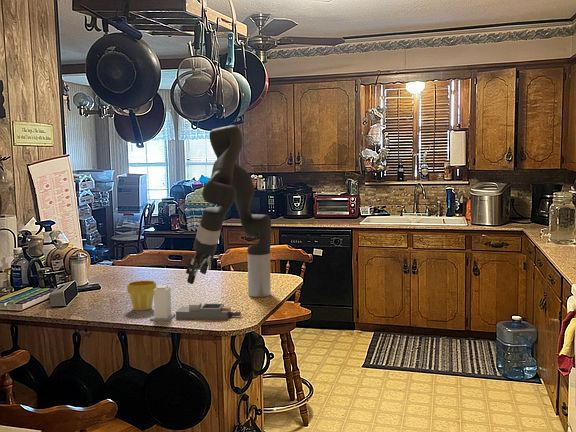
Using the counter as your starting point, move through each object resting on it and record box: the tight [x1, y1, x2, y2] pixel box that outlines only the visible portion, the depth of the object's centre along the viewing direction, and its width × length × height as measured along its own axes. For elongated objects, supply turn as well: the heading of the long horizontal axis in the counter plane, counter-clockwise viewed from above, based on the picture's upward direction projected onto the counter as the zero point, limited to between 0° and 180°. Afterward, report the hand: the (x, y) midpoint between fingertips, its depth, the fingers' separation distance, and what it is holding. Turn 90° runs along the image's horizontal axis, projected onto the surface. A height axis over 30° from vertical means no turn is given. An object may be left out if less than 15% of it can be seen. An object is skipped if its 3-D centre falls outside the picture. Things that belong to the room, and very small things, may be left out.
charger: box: [153, 285, 172, 318], centre depth 199 cm, size 4×4×11 cm
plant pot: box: [126, 280, 157, 311], centre depth 213 cm, size 10×10×10 cm
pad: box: [149, 313, 176, 322], centre depth 199 cm, size 7×7×1 cm
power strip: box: [175, 301, 242, 320], centre depth 200 cm, size 7×22×4 cm, turn 85°
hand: (196, 277), depth 194 cm, fingers open, 8 cm apart
